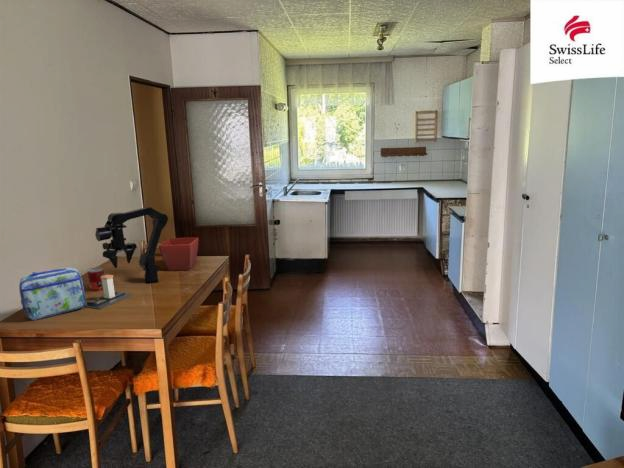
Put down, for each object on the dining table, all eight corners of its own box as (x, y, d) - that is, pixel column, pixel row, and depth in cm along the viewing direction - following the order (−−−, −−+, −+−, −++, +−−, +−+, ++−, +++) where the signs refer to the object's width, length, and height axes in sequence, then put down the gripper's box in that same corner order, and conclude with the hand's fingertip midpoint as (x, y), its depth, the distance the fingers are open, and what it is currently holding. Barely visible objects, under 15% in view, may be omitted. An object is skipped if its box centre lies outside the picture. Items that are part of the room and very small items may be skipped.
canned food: (100, 291, 250) (97, 271, 247) (87, 290, 251) (84, 271, 249) (109, 286, 257) (106, 267, 255) (96, 286, 259) (93, 266, 256)
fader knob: (110, 295, 238) (107, 274, 236) (116, 296, 236) (113, 275, 234) (103, 298, 234) (100, 277, 232) (109, 298, 233) (106, 277, 230)
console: (114, 292, 246) (113, 288, 245) (131, 295, 241) (131, 290, 240) (82, 306, 228) (81, 301, 227) (100, 309, 223) (99, 304, 222)
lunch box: (24, 323, 210) (16, 279, 205) (23, 316, 219) (15, 273, 214) (87, 309, 223) (81, 267, 219) (84, 303, 232) (78, 262, 228)
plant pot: (171, 263, 297) (168, 238, 293) (201, 262, 296) (198, 236, 292) (161, 272, 278) (157, 245, 274) (192, 271, 277) (189, 244, 273)
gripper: (119, 232, 257) (123, 259, 260) (92, 240, 240) (97, 269, 244) (135, 233, 253) (139, 261, 256) (108, 241, 236) (113, 271, 239)
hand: (122, 265), depth 249 cm, fingers open, 9 cm apart
